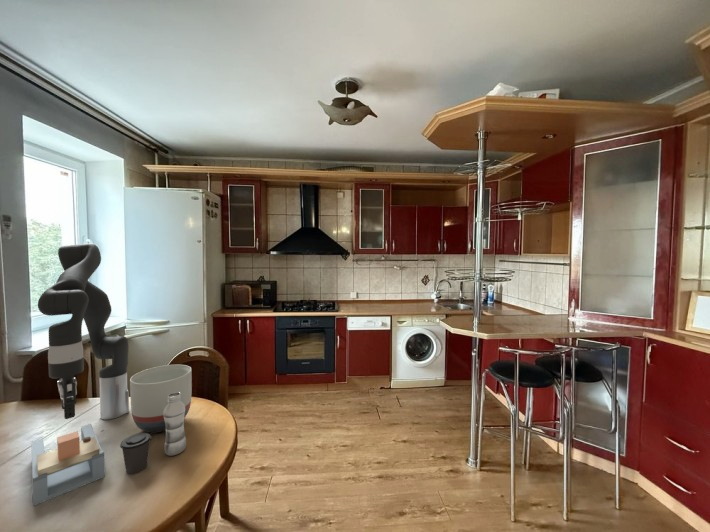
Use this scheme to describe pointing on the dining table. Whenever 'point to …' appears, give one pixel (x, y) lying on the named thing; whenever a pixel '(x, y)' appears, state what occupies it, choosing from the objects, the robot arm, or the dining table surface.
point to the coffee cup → (136, 452)
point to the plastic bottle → (174, 425)
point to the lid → (52, 464)
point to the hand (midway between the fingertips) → (68, 412)
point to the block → (68, 445)
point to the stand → (65, 471)
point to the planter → (158, 394)
